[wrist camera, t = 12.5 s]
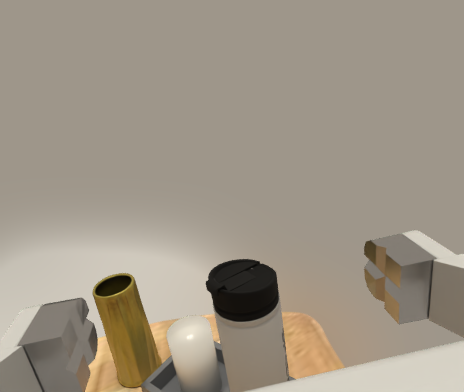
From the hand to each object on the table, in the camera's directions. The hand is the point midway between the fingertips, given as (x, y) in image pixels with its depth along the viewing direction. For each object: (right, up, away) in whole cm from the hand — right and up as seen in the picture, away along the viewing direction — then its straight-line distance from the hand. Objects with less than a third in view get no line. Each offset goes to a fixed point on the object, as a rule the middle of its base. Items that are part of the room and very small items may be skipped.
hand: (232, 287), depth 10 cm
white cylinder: (-4, -22, +34) cm, 40 cm away
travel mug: (+4, -23, +28) cm, 36 cm away
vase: (-13, -22, +38) cm, 46 cm away
